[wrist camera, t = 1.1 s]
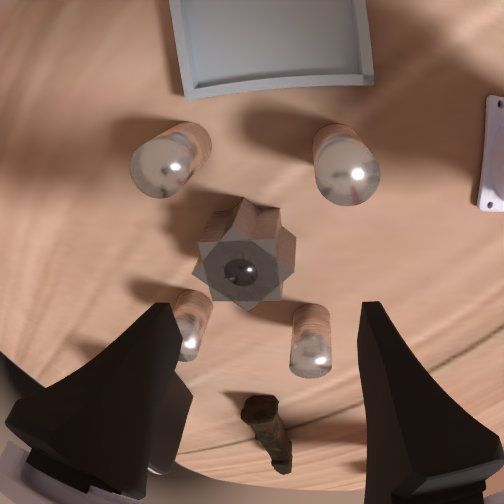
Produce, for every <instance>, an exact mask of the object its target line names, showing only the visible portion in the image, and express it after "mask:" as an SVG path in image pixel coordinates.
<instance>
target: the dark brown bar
mask: <svg viewBox="0 0 504 504" xmlns="http://www.w3.org/2000/svg"><path fill="white" fill-rule="evenodd" d="M278 403H279V401H278V400H277V399H276V397H275V396H253V397H250V398H248V399H247V400H246V402H245V405H244V408H243V409H242V411H241V419H242V420H243V421H244V422H245V423H247V424H248V425H251V427H252V429H253V430H254V431H255V433H256V435H255V438H256V440H258V441H261V443H262V444H263V446H264V448H265V449H266V451H267V452H268V453H269V455H270V457H271V459H272V461H271V464H272V466H273V467H274V469H275V470H276V471H277V472H279V473H280V474H282V475H285V474H289V473H291V469H292V442H291V441H289V440H288V438H287V434H286V432H285V430H284V427H283V423H282V420H281V419H280V417H279V415H278Z"/></svg>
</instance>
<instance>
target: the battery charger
mask: <svg viewBox="0 0 504 504" xmlns="http://www.w3.org/2000/svg"><path fill="white" fill-rule="evenodd" d="M192 400H193V395H192V394H191V392H190V391H189V389H188V388H187V387H186V385H185V384H184V383H183V382H182V380H181V379H180V378H179V377H178V375H177V374H176V373H175V372H174V373H173V376H172V378H171V381H170V384H169V386H168V389H167V392H166V394H165V397H164V400H163V402H162V405H161V408H160V411H159V414H158V418H157V422H156V426H155V431H154V435H153V440H152V446H151V451H150V457H149V465H148V471H149V472H153V473H156V474H167V473H168V472H170V470H171V469H172V466H173V464H174V461H175V458H176V455H177V451H178V448H179V445H180V441H181V438H182V434H183V430H184V427H185V423H186V419H187V415H188V412H189V409H190V406H191V403H192Z"/></svg>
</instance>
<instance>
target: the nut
mask: <svg viewBox="0 0 504 504" xmlns="http://www.w3.org/2000/svg"><path fill="white" fill-rule="evenodd" d="M197 243H198V247H199V250H200V254H201V255H200V257H199V259H198V261H197V263H196V266H195V268H194V270H193V272H192V274H193V275H194V276H195V277H197V278H198V279H200V280H201V281H203V282H204V283H206V284H207V285H209V289H210V293H211V296H212V300H213V301H233V302H234V303H236V304H237V305H239V306H240V307H242V308H243V309H245V310H246V311H248V312H249V311H250V310H251V309H252V308H253V307H254V306H256V305H257V304H258V303H259V302H260V301H281V299H282V290H283V281H284V280H286V279H287V278H288V277H289V276H290V275H291V274H292V273H294V267H295V250H296V237H295V236H294V235H293V234H292V233H290V232H289V231H288V230H286V229H285V228H284V227H283V226H282V225H281V215H280V208H273V209H259V208H258V207H257V206H255V205H254V204H253V203H251V202H250V201H249V200H247V199H246V198H245V197H244V198H243V199H242V201H241V202H240V203H239V204H238V205H237V206H236V208H235V209H234V210H233V211H222V212H214V213H213V215H212V217H211V219H210V220H209V222H208V224H207V226H206V228H205V230H204V231H203V233H202V235H201V237H200V239H199V241H198V242H197Z"/></svg>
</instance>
